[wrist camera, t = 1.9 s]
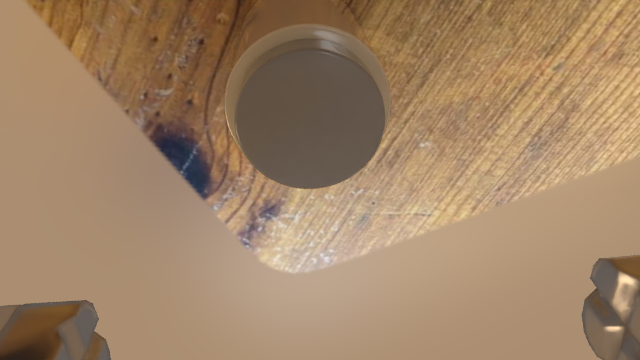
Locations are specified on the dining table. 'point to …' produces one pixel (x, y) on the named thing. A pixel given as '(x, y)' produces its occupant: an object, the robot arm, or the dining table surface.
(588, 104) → the dining table surface
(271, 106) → the salt shaker
